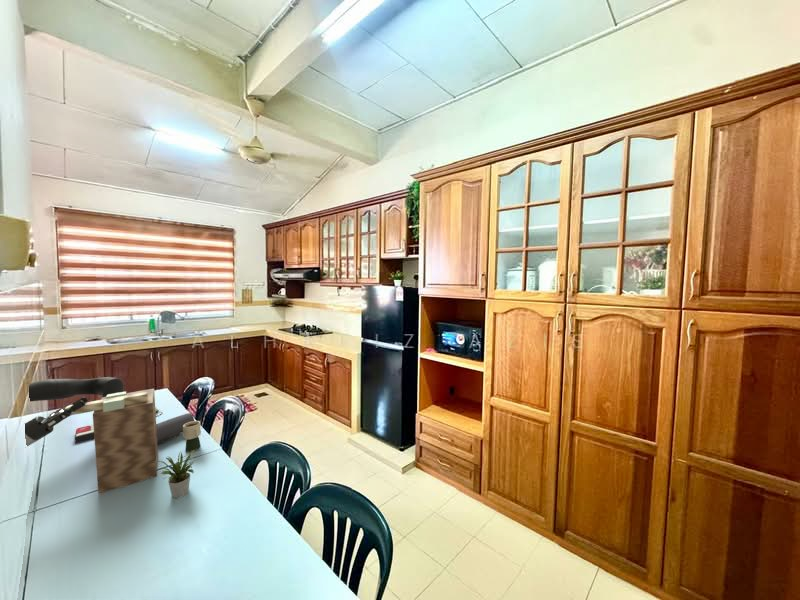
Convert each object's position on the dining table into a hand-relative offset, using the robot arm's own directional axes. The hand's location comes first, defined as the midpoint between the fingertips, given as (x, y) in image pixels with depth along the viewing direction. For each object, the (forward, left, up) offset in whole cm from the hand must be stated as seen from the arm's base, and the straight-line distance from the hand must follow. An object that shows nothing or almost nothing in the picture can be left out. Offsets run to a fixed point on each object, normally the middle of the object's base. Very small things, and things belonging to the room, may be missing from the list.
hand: (85, 400), depth 121 cm
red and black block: (-43, -48, -37) cm, 74 cm away
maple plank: (-4, +5, -4) cm, 8 cm away
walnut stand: (-12, +5, -36) cm, 39 cm away
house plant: (+2, +37, -37) cm, 52 cm away
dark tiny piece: (-63, -43, -37) cm, 85 cm away
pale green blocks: (-6, +6, -4) cm, 10 cm away
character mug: (-30, +20, -37) cm, 51 cm away
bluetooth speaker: (-40, -1, -37) cm, 54 cm away
